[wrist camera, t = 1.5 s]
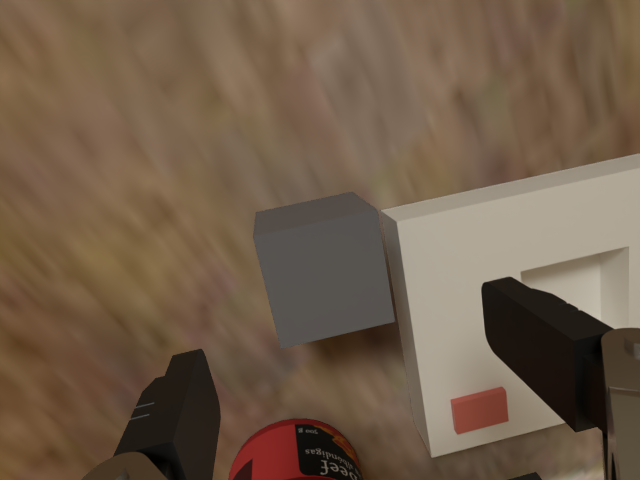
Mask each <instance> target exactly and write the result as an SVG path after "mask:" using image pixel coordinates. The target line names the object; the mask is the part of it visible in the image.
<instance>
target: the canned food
mask: <svg viewBox="0 0 640 480" xmlns="http://www.w3.org/2000/svg"><path fill="white" fill-rule="evenodd" d="M228 480H363V477H362V474H361V470H360V467H359V463H358V460H357V457H356V454H355V452H354V450H353V449H352V447H351V446H350V444H349V443H348V441H347V440H346V439H345V438H344V436H343V435H342V434H341V433H339V432H338V431H337V430H336V429H335V428H333V427H331V426H330V425H328V424H325V423H323V422H320V421H317V420H311V419H289V420H283V421H279V422H277V423H274V424H271V425H268V426H267V427H265V428H263V429H261V430H259V431H258V432H257V433H255V434H254V435H253V436H251V437H250V438H249V439H248V440H247V441H246V443H245V444H244V445H243V446H242V448H241V449H240V451H239V453H238V454H237V456H236V458H235V460H234V462H233V464H232V467H231V470H230V473H229V479H228Z"/></svg>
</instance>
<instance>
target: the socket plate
mask: <svg viewBox="0 0 640 480" xmlns="http://www.w3.org/2000/svg"><path fill="white" fill-rule="evenodd" d="M380 211H381V218H382V224H383V230H384V237H385V243H386V249H387V256H388V262H389V268H390V275H391V281H392V287H393V294H394V300H395V306H396V313H397V319H398V325H399V332H400V338H401V344H402V351H403V357H404V363H405V370H406V376H407V382H408V389H409V395H410V401H411V408H412V414H413V420H414V424H415V426H416V428H417V430H418V432H419V434H420V436H421V438H422V440H423V442H424V444H425V446H426V448H427V450H428V452H429V454H430V456H431V458H433V457H437V456H441V455H445V454H448V453H452V452H456V451H460V450H464V449H467V448H471V447H475V446H479V445H483V444H486V443H490V442H494V441H498V440H502V439H506V438H509V437H513V436H517V435H521V434H525V433H528V432H532V431H536V430H540V429H544V428H547V427H551V426H555V425H559V424H563V423H566V422H564V421H563V420H562V419H561V418H560V417H559V416H558V415H557V414H556V413H555V412H554V411H553V410H552V409H551V408H550V407H549V406H548V405H547V404H546V403H545V402H544V401H543V400H542V399H541V398H540V397H539V396H538V395H537V394H536V393H535V392H533V391H532V390H531V389H530V388H529V387H528V386H527V385H526V384H525V383H524V382H523V381H522V380H521V379H520V378H519V377H518V376H517V375H516V374H515V373H514V372H513V371H512V370H511V369H510V368H509V367H508V366H507V365H506V364H505V363H504V362H502V361H501V360H500V359H499V358H498V357H497V356H496V355H495V354H494V353H493V351H492V350H491V348H490V346H489V344H488V342H487V339H486V336H485V329H484V318H483V307H482V295H481V287H482V284H483V283H484V282H488V281H492V280H496V279H500V278H504V277H509V276H510V277H513V278H514V279H516V280H518V281H519V282H521V283H523V284H525V285H526V286H528V287H530V288H531V289H532V288H534V289H538V290H541V291H545V292H548V293H552V294H554V295H556V296H557V297H559V298H561V299H563V300H564V301H566V302H567V304H568V303H570V304H571V305H573V306H575V307H577V308H578V310H582V311H584V312H586V313H587V314H589V315H591V316H593V317H594V318H596V319H598V320H600V321H601V322H603V323H605V324H607V325H608V326H610V327H612V328H614V329H619V328H640V153H639V154H635V155H630V156H625V157H621V158H616V159H612V160H607V161H603V162H598V163H594V164H589V165H584V166H580V167H575V168H571V169H566V170H562V171H557V172H553V173H548V174H543V175H539V176H534V177H530V178H525V179H521V180H516V181H512V182H507V183H502V184H498V185H493V186H489V187H484V188H480V189H475V190H470V191H466V192H461V193H457V194H452V195H448V196H443V197H439V198H434V199H429V200H425V201H420V202H416V203H411V204H407V205H402V206H398V207H393V208H388V209H384V210H380Z"/></svg>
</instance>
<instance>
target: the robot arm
mask: <svg viewBox="0 0 640 480" xmlns="http://www.w3.org/2000/svg"><path fill="white" fill-rule="evenodd" d="M481 295H482V307H483V318H484V329H485V336H486V339H487V342H488V344H489V346H490V348H491V350H492V351H493V353H494V354H495V355H496V356H497V357H498V358H499V359H500V360H501V361H502V362H504V363H505V364H506V365H507V366H508V367H509V368H510V369H511V370H512V371H513V372H514V373H515V374H516V375H517V376H518V377H519V378H520V379H521V380H522V381H523V382H524V383H525V384H526V385H527V386H528V387H529V388H530V389H531V390H532V391H533V392H535V393H536V394H537V395H538V396H539V397H540V398H541V399H542V400H543V401H544V402H545V403H546V404H547V405H548V406H549V407H550V408H551V409H552V410H553V411H554V412H555V413H556V414H557V415H558V416H559V417H560V418H561V419H562V420H563V421H564V422H566V423H567V424H568V425H569V426H570V427H571V428H572V429H573V430H574V431H575V432H580V431H583V430H587V429H591V428H594V427H598V428H599V429H600V430H601V442H602V457H603V469H604V480H640V328H619V329H614V328H612V327H610V326H608V325H607V324H605V323H603V322H601V321H600V320H598V319H596V318H594V317H593V316H591V315H589V314H587V313H586V312H584V311H582V310H578V308H577V307H575V306H573V305H571V304H570V303H568V304H567V302H566V301H564V300H563V299H561V298H559V297H557V296H556V295H554V294H552V293H548V292H545V291H541V290H538V289H534V288H532V289H531V288H530V287H528V286H526V285H525V284H523V283H521V282H519V281H518V280H516V279H514V278H513V277H510V276H509V277H504V278H500V279H496V280H492V281H488V282H484V283H483V284H482V287H481ZM220 418H221V416H220V405H219V400H218V396H217V393H216V389H215V386H214V383H213V379H212V376H211V373H210V370H209V366H208V363H207V360H206V356H205V354H204V352H203V350H202V349H198V350H193V351H189V352H185V353H181V354H177V355H173V356H172V358H171V361H170V364H169V366H168V369H167V371H166V374H165V376H163V377H159V378H155V379H154V380H153V382H152V383H151V384H150V385H149V386H148V387H147V388H146V389H145V390H144V391H143V392H142V394H141V396H140V398H139V401H138V403H137V405H136V409H134V412H133V414H132V416H131V420H130V421H129V423H128V425H127V427H126V429H125V431H124V434H123V436H122V438H121V440H120V442H119V445H118V447H117V449H116V451H115V453H114V456H113V457H112V458H110V459H107V460H106V461H104V462H102V463H100V464H99V465H97V466H96V467H95V468H93V469H92V470H91V471H90V472H88V473H87V474H86V475H85V476H84V477H83V478H82V480H212V477H213V470H214V463H215V456H216V449H217V442H218V435H219V427H220ZM509 480H542V479H541V478H540V477H539V475H538V474H537V473H536V472H534V473H530V474H527V475H523V476H520V477H516V478H512V479H509Z"/></svg>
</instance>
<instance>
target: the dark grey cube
mask: <svg viewBox="0 0 640 480" xmlns="http://www.w3.org/2000/svg"><path fill="white" fill-rule="evenodd" d="M253 238H254V242H255V246H256V250H257V254H258V258H259V263H260V267H261V271H262V275H263V279H264V283H265V287H266V291H267V295H268V299H269V303H270V307H271V311H272V315H273V319H274V323H275V327H276V331H277V335H278V339H279V343H280V347H281V349H283V348H287V347H291V346H295V345H300V344H304V343H308V342H312V341H316V340H321V339H325V338H329V337H333V336H337V335H341V334H346V333H350V332H354V331H358V330H362V329H367V328H371V327H375V326H379V325H383V324H388V323H392V322H395V318H394V312H393V306H392V299H391V293H390V287H389V281H388V274H387V268H386V262H385V256H384V249H383V243H382V237H381V230H380V224H379V218H378V212H377V209H376V208H374V207H373V206H372V205H370V204H369V203H367V202H366V201H365V200H363V199H362V198H360V197H359V196H358V195H356V194H355V193H354V192H348V193H344V194H339V195H334V196H330V197H325V198H321V199H316V200H311V201H307V202H302V203H297V204H293V205H288V206H283V207H279V208H274V209H269V210H265V211H260V212H256V217H255V225H254V234H253Z"/></svg>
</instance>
